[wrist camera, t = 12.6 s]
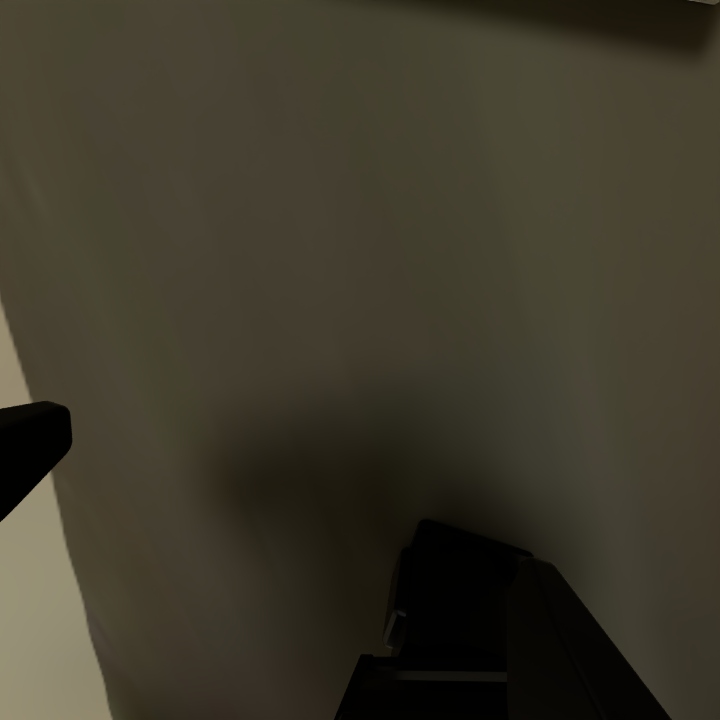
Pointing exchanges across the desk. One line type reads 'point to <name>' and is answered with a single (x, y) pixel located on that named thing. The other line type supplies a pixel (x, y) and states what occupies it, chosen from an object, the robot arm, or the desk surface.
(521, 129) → the desk surface
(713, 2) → the housing
